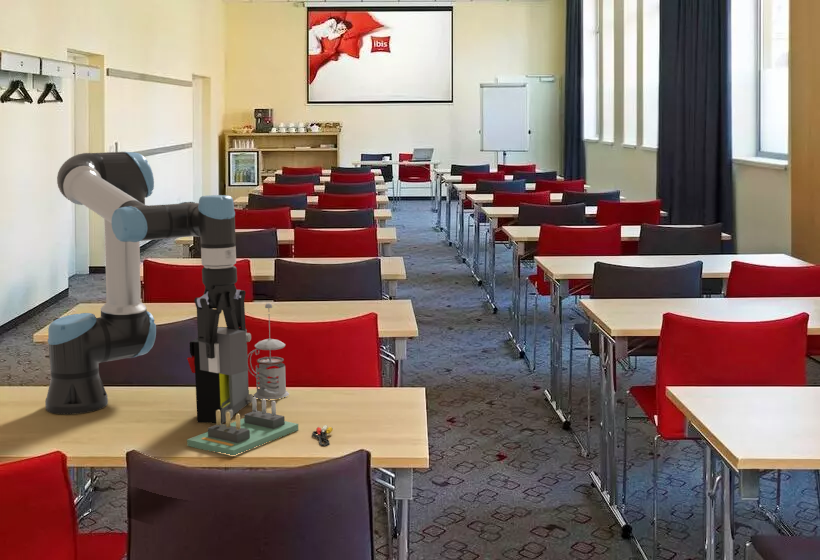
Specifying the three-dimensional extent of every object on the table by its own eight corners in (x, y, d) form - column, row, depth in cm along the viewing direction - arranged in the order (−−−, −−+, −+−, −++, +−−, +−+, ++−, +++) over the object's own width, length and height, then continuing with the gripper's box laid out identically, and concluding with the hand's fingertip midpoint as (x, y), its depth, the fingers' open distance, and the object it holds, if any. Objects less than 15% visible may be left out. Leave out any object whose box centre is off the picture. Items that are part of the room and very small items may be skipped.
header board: (187, 445, 214) (185, 413, 213) (253, 420, 232) (252, 390, 231) (233, 457, 206) (232, 423, 205) (298, 429, 225) (297, 399, 223)
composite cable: (330, 447, 213) (330, 437, 213) (308, 447, 213) (308, 437, 213) (333, 433, 223) (333, 423, 222) (312, 433, 223) (312, 423, 222)
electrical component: (229, 424, 229) (226, 343, 226) (189, 422, 231) (186, 341, 228) (255, 403, 246) (252, 328, 243) (218, 401, 248) (215, 326, 245)
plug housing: (247, 370, 212) (245, 331, 211) (231, 375, 208) (229, 335, 206) (216, 365, 217) (214, 326, 216) (200, 369, 213) (198, 330, 212)
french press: (278, 402, 248) (276, 307, 244) (239, 397, 252) (236, 305, 248) (296, 392, 257) (294, 301, 253) (258, 388, 261) (255, 298, 257)
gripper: (200, 272, 199) (205, 380, 203) (260, 262, 214) (264, 363, 218) (176, 269, 204) (181, 375, 207) (236, 260, 218) (240, 359, 222)
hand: (223, 369), depth 212 cm, fingers closed on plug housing, 5 cm apart
